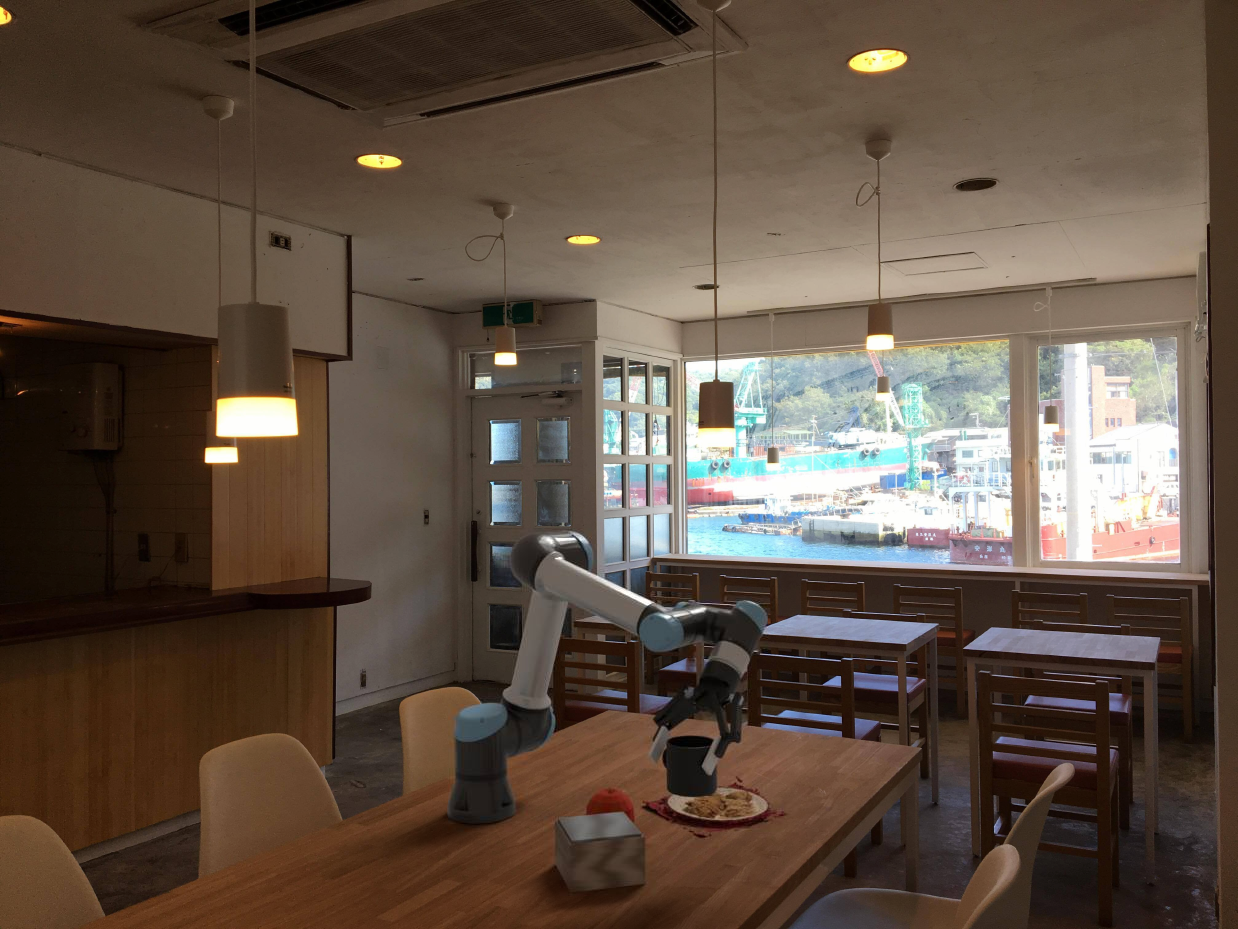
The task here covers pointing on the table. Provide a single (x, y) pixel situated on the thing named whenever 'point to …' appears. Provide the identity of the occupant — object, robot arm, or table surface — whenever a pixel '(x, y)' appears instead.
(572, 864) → the grey square box
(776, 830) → the table surface
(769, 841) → the table surface
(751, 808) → the plate with food
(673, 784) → the mug
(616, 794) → the apple
